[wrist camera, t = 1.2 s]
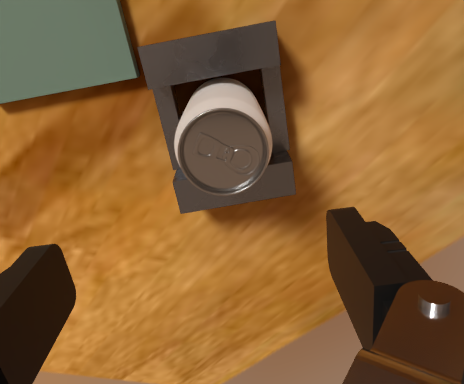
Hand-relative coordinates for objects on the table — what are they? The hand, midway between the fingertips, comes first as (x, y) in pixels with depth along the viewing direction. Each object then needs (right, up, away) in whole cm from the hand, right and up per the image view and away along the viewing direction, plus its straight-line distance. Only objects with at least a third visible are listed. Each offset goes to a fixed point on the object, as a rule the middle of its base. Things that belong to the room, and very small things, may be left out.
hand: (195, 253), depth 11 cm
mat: (-14, +17, +19) cm, 29 cm away
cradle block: (0, +9, +23) cm, 24 cm away
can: (0, +9, +23) cm, 25 cm away
